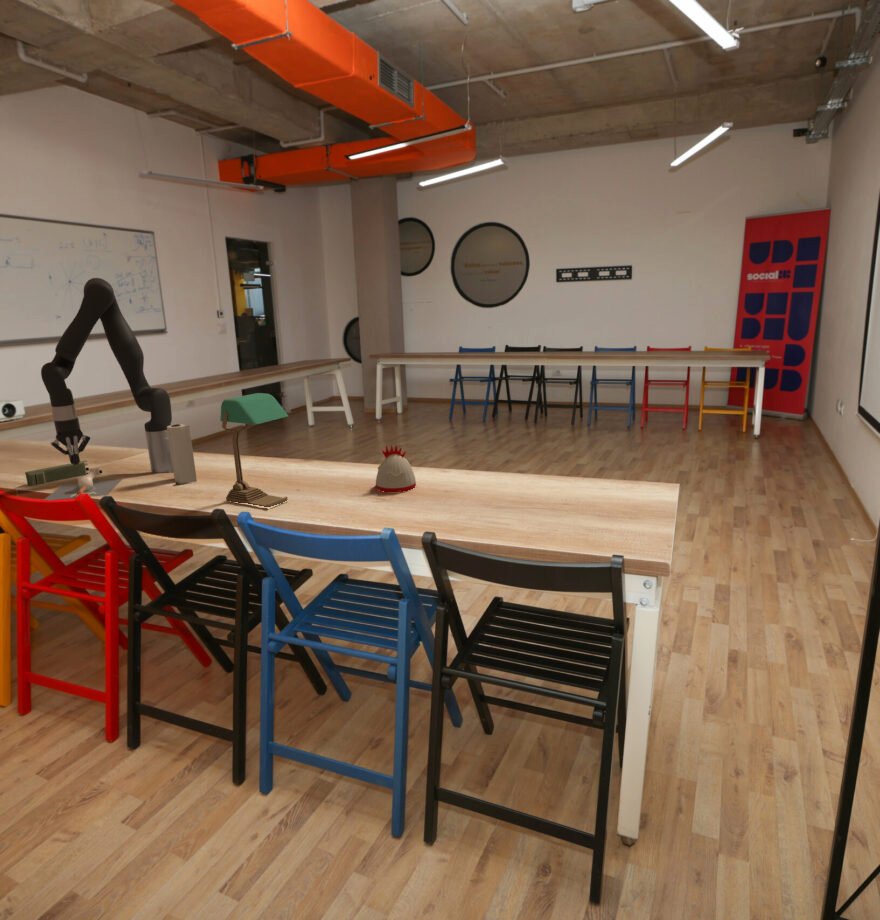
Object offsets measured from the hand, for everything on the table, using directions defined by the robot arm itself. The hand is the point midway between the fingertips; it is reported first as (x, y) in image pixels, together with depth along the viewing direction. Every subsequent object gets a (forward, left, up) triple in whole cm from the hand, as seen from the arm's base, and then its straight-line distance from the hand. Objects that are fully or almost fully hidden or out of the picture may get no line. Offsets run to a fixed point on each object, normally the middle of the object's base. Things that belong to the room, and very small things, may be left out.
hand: (75, 464), depth 225 cm
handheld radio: (+7, -10, -9) cm, 15 cm away
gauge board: (-4, +9, -8) cm, 13 cm away
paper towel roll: (-37, +7, -9) cm, 39 cm away
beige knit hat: (-111, +38, -9) cm, 118 cm away
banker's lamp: (-65, +40, -9) cm, 77 cm away
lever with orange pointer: (-5, +7, -7) cm, 11 cm away
